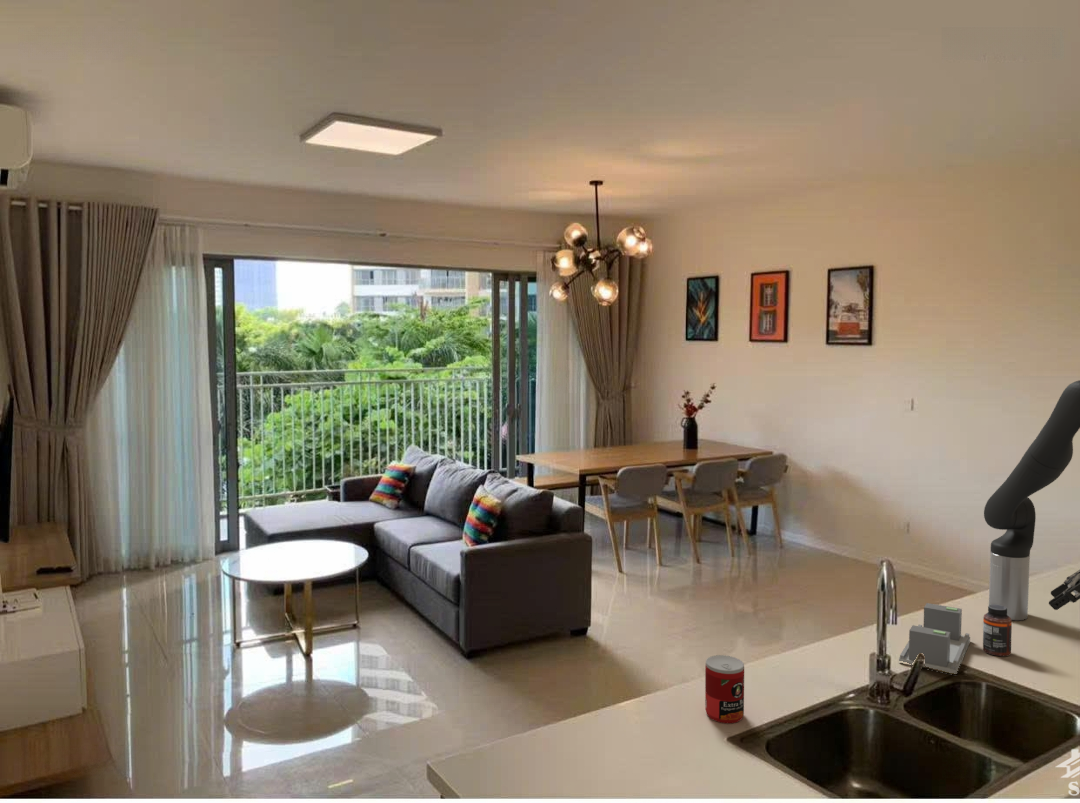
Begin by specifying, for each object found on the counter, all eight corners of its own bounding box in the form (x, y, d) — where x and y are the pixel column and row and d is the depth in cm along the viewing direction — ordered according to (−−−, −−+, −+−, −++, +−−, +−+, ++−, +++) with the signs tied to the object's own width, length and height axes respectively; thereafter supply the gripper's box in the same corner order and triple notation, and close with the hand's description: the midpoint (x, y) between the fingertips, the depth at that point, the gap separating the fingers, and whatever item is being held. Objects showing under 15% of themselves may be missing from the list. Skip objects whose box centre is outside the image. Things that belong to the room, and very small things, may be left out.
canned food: (722, 727, 154) (723, 673, 153) (697, 711, 161) (697, 659, 160) (752, 718, 157) (753, 665, 156) (725, 702, 164) (726, 652, 163)
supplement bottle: (1003, 648, 192) (1005, 603, 191) (1015, 657, 186) (1017, 611, 185) (978, 647, 192) (979, 602, 191) (989, 657, 186) (991, 610, 185)
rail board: (917, 631, 203) (918, 599, 202) (970, 641, 196) (971, 608, 195) (898, 663, 183) (899, 627, 183) (956, 675, 176) (957, 638, 176)
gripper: (1101, 540, 181) (1041, 580, 189) (1101, 554, 170) (1037, 596, 177) (1128, 566, 179) (1066, 606, 186) (1131, 582, 167) (1064, 623, 175)
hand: (1052, 601), depth 182 cm, fingers open, 8 cm apart
